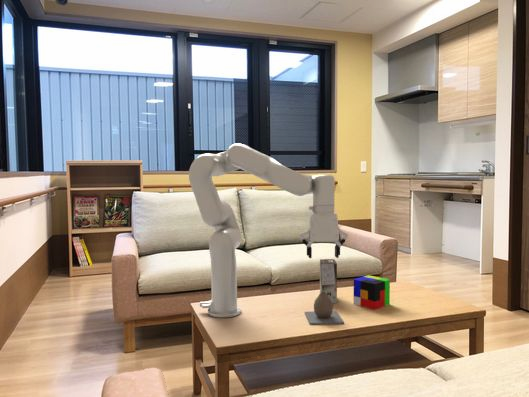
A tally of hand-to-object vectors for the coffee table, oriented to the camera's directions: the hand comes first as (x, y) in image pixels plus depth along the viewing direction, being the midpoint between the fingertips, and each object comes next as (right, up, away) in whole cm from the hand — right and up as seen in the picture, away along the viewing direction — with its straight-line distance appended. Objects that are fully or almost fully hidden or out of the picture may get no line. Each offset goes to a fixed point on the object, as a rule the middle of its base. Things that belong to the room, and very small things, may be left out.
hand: (323, 257), depth 150 cm
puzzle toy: (+22, -21, +17) cm, 35 cm away
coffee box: (+5, -21, +24) cm, 32 cm away
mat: (0, -22, +1) cm, 22 cm away
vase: (0, -22, +1) cm, 22 cm away
